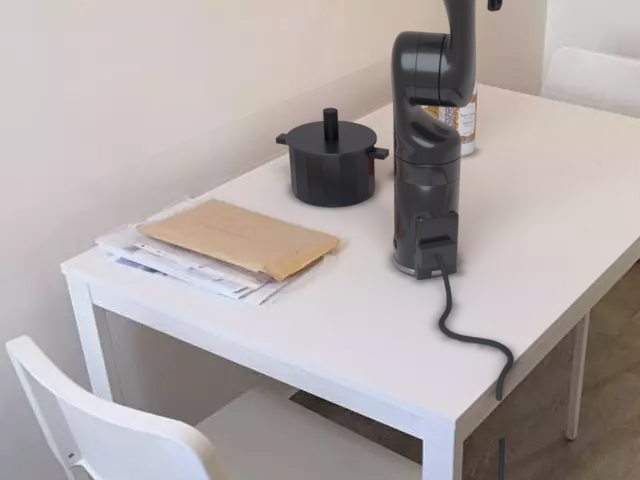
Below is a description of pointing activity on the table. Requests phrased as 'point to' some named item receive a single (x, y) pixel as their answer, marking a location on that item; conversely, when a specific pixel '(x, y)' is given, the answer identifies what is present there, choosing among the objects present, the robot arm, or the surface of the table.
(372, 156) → the pot
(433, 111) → the pastry
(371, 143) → the pot lid
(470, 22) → the robot arm
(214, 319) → the table surface
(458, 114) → the bath foam
